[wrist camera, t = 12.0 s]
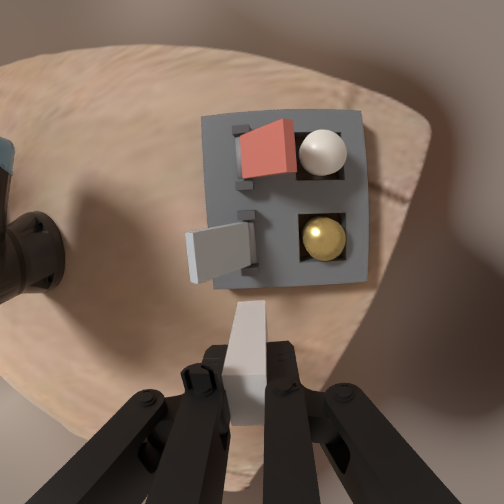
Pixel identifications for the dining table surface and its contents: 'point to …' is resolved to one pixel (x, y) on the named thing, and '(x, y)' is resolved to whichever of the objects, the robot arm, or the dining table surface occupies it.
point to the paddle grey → (220, 250)
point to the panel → (288, 200)
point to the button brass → (323, 238)
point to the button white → (322, 153)
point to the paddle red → (267, 150)
